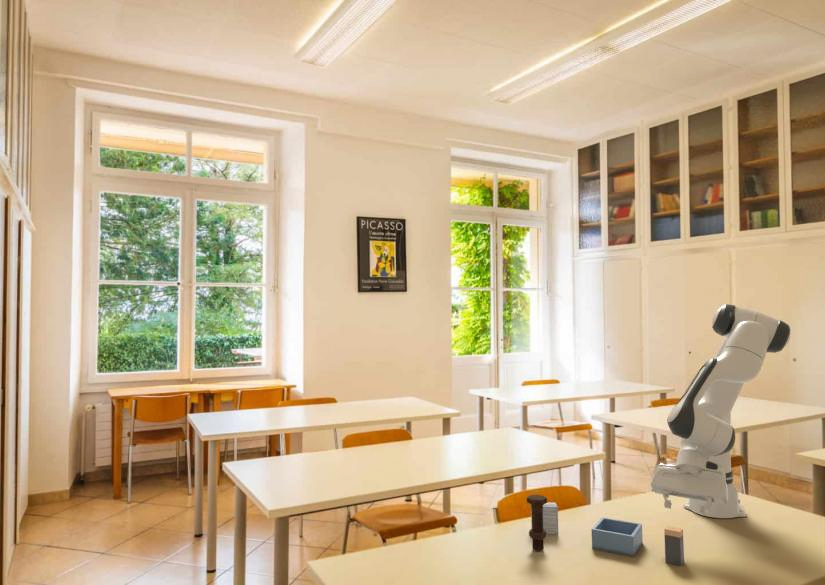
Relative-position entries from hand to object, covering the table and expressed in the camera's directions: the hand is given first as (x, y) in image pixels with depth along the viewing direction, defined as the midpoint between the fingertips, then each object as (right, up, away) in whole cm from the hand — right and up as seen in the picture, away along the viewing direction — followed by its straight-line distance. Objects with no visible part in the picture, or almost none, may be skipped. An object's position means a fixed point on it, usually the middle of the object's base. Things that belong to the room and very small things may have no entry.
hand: (684, 510), depth 166 cm
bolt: (-41, -13, +4) cm, 43 cm away
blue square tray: (-17, -12, +6) cm, 22 cm away
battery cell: (-6, -12, -6) cm, 14 cm away
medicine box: (-36, -13, +17) cm, 42 cm away
